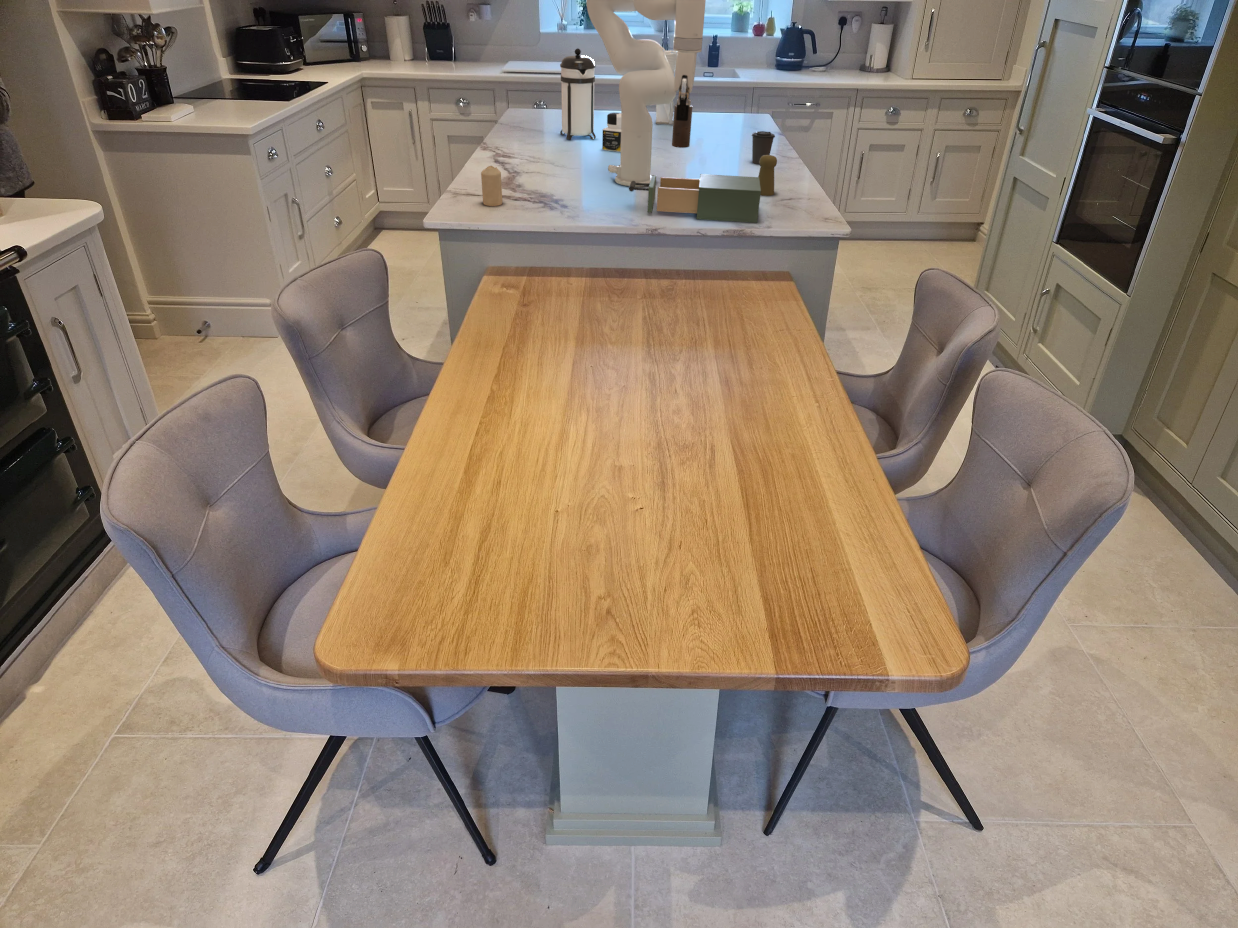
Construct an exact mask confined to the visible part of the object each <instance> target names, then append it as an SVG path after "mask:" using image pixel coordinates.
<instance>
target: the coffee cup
mask: <svg viewBox="0 0 1238 928" xmlns="http://www.w3.org/2000/svg"><path fill="white" fill-rule="evenodd" d="M775 138H776V136H775V134H774V133H772V132H771V131H764V130H760V131H759V130H758V131H754V132H752V134H751V139H752V144H751V145H752V149H751V155H752V156H751V162H752V164H754V165H759V166H760V163H759V161H760V158H761V157H762V156H763V155H771V152H772V147H773V143H774V139H775Z"/></svg>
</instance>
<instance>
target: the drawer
mask: <svg viewBox="0 0 1238 928" xmlns="http://www.w3.org/2000/svg"><path fill="white" fill-rule="evenodd" d="M651 176H652V178H651V181H650V183H636V182H635V181H632V182H631V184H630V186H628V191H629V192H630V193H632V192H634V191H646V192H648V194H647V213H653V210H654V205H655V201H656V212H665V213H681V214H682V213H683V214H697V207H698V195H699V183H700V178H686V177H670V176H669V177H667V176H660V178H659V179H660V180H659V181H660V182H659V186H658V187H657V175H656V174H652V175H651ZM635 185H639V187H636V186H635ZM656 188H657V189H656ZM656 190H657V199H656Z"/></svg>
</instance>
